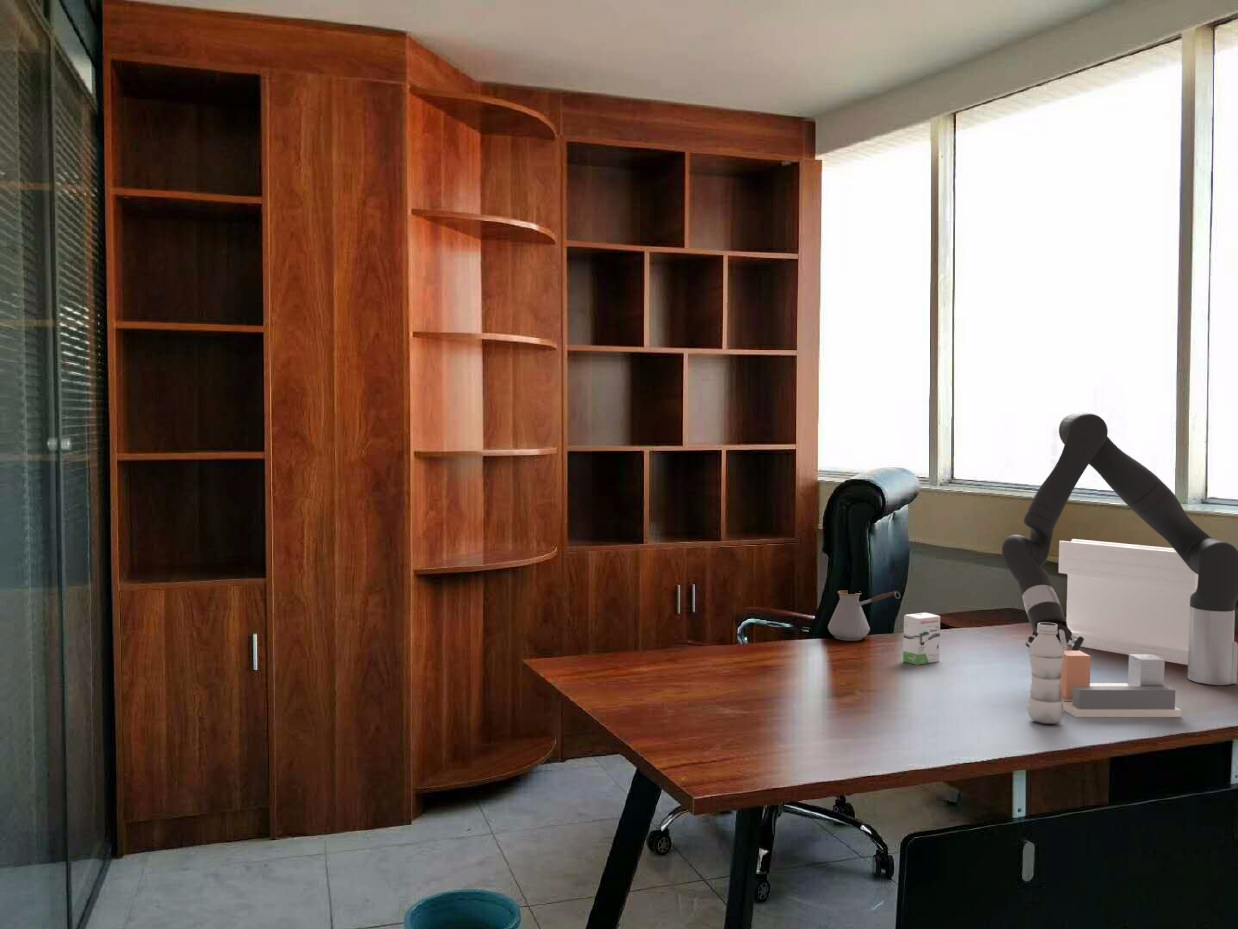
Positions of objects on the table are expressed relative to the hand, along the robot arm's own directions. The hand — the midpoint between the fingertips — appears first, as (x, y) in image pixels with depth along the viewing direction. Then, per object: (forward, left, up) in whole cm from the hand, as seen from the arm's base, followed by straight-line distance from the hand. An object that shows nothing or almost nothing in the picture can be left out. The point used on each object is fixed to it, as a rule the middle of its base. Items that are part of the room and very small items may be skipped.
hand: (1066, 676), depth 231 cm
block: (-39, -49, -6) cm, 63 cm away
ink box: (+20, -37, -6) cm, 42 cm away
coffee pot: (+28, -62, -6) cm, 68 cm away
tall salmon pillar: (0, +3, -3) cm, 5 cm away
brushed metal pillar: (-14, +7, -3) cm, 16 cm away
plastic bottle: (+12, +17, -6) cm, 22 cm away
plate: (-7, +2, -5) cm, 9 cm away
